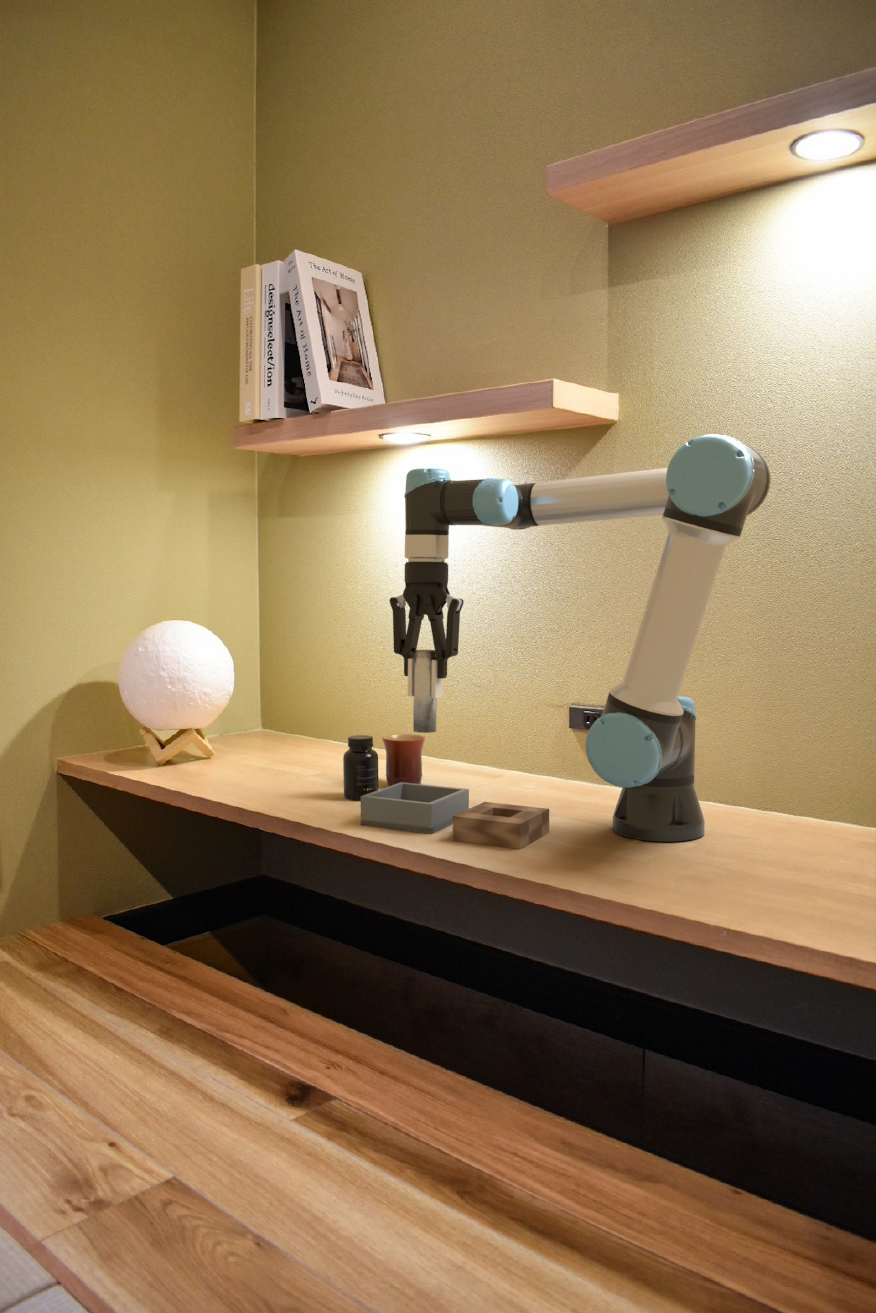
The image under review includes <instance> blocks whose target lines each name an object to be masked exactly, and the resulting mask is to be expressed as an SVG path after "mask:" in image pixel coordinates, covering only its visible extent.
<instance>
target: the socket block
mask: <svg viewBox="0 0 876 1313" xmlns="http://www.w3.org/2000/svg"><path fill="white" fill-rule="evenodd" d="M549 833H550V808H548V807H547V808H546V807H536V806H527V805H526V806H525V805H517V804H509V803H501V802H500V803H499V802H490V801H483V802H481V803H478V804H477V805H474V806H471V807H469V809H467V810H465V811H463V812H461V813H458V814H456V815H454V816H453V824H452V841H457V842H464V843H471V844H472V843H473V844H480V845H486V844H487V845H488V846H494V847H495V846H496V847H503V848H508V849H509V848H510V849H518V850H521V849H523V848H525V847H527V846H528V845H531V844H532V843H533V842H535V841H537V840H538V839H540V838H542V837H543V836H545V835H546V834H549ZM487 845H486V846H487Z"/></svg>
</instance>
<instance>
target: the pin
mask: <svg viewBox="0 0 876 1313" xmlns="http://www.w3.org/2000/svg"><path fill="white" fill-rule="evenodd" d="M434 657H436V654H435V649H416V650H414V696H413V709H412V710H413V713H412V714H413V729H412V731H413V732H414V733H419V734H420V733H423V734H425V733H426V734H427V733H428V734H429V733H435V732H437V712H438V711H437V703H438V702H437V701H438V700H437V699H438V698H431V687H432V660H435V659H434Z"/></svg>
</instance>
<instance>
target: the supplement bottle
mask: <svg viewBox="0 0 876 1313" xmlns="http://www.w3.org/2000/svg"><path fill="white" fill-rule="evenodd" d="M347 747H348V748H349V749H348V750H346V751H345V752H344V753H343V756H342V761H343V766H342V767H343V769H342V770H343V772H342V773H343V797H344V798H345V799H346V800H349V801H352V802H353V801H354V802H355V801H356V802H357V801H358V802H361V796H363V795H366V794H369V793H372V792H375V791H377V790H379V754H378V752H377V751H376V750H375V749H373V747H374V737H373V736H371V735H366V734H365V735H364V734H361V735H360V734H358V735H357V734H356V735H351V736H348V738H347Z"/></svg>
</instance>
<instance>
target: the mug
mask: <svg viewBox="0 0 876 1313" xmlns="http://www.w3.org/2000/svg"><path fill="white" fill-rule="evenodd" d="M381 738H382V742H383V746H384V749H385V758H386V759H385V779H386V780H385V781H386V784H387V787H389V786H392V785H395V784H397V783H400V782H404V783H414V784H422V778H423V763H422V762H423V761H422V758H423V757H422V754H423V752H422V751H423V748H424V745H425V744H424V743H425V739H426V737H425V736H424V735H420V734H411V733H410V734H409V733H399V734H398V733H397V734H388V735H384V736H382V737H381Z"/></svg>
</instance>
